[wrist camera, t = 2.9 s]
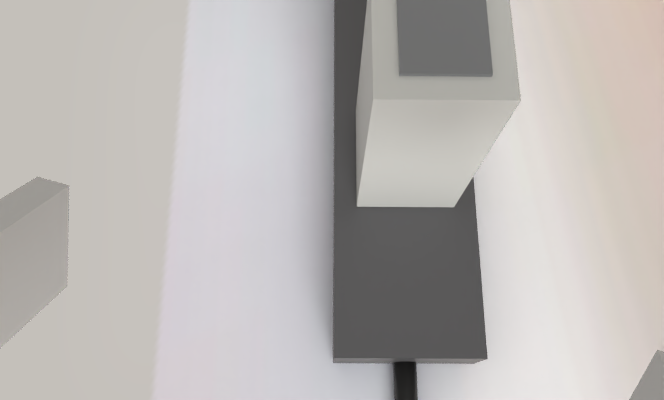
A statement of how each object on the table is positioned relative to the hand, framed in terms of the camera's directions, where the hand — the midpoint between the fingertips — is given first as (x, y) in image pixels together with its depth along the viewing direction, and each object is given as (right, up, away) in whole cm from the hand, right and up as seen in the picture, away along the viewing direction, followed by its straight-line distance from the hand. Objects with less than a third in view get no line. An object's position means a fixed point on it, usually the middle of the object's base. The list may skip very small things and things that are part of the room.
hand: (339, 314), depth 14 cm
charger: (+3, +4, +17) cm, 18 cm away
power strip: (+3, +2, +17) cm, 17 cm away
